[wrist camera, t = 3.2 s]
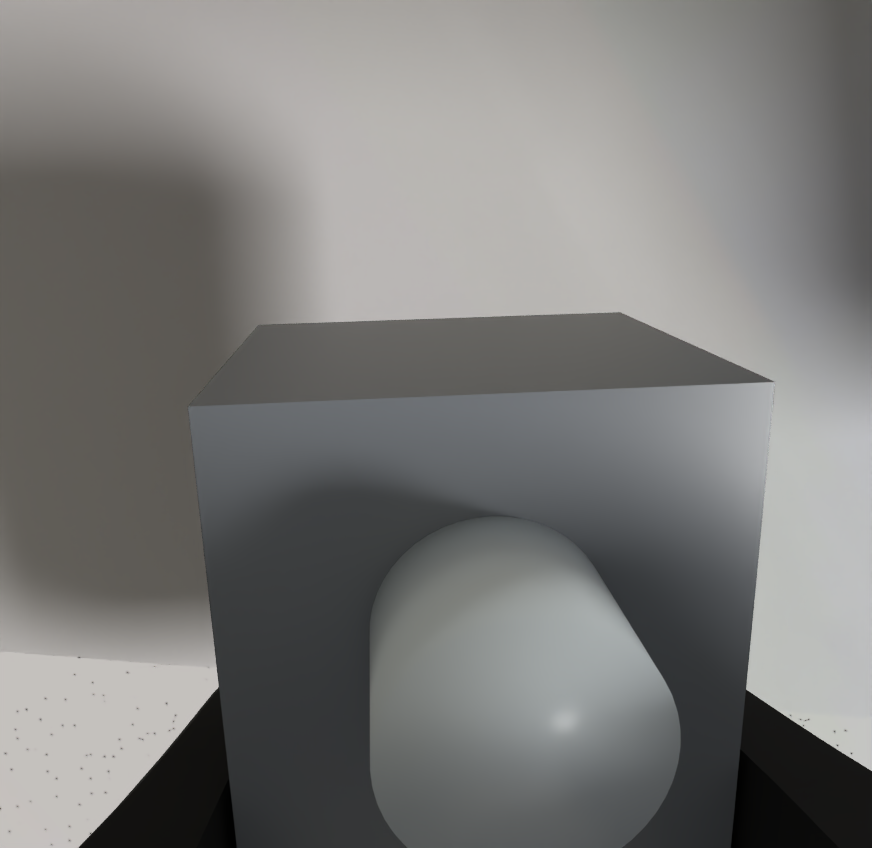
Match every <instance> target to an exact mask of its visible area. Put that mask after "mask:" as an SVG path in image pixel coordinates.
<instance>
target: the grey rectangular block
mask: <svg viewBox="0 0 872 848" xmlns="http://www.w3.org/2000/svg"><path fill="white" fill-rule="evenodd" d="M774 388H775V382H774V381H772V380H769V379H767V378H765V377H763V376H761V375H758V374H756V373H754V372H752V371H749V370H747V369H745V368H743V367H741V366H738V365H736V364H734V363H732V362H729V361H727V360H725V359H723V358H720V357H718V356H716V355H714V354H712V353H709V352H707V351H705V350H703V349H700V348H698V347H696V346H694V345H692V344H689V343H687V342H685V341H683V340H680V339H678V338H676V337H674V336H671V335H669V334H667V333H665V332H663V331H660V330H658V329H656V328H654V327H651V326H649V325H647V324H645V323H642V322H640V321H638V320H636V319H634V318H631V317H629V316H627V315H625V314H622V313H620V312H617V313H588V314H560V315H531V316H502V317H473V318H445V319H416V320H387V321H358V322H330V323H301V324H272V325H258V326H257V328H256V329H255V330H254V331H253V332H252V333H251V334H250V336H249V337H248V338H247V339H246V340H245V341H244V343H243V344H242V345H241V346H240V347H239V348H238V349H237V351H236V352H235V353H234V354H233V355H232V356H231V358H230V359H229V360H228V361H227V362H226V363H225V364H224V366H223V367H222V368H221V369H220V370H219V371H218V372H217V374H216V375H215V376H214V377H213V378H212V379H211V381H210V382H209V383H208V384H207V385H206V386H205V387H204V389H203V390H202V391H201V392H200V393H199V394H198V396H197V397H196V398H195V399H194V400H193V401H192V402H191V404H190V405H189V406H188V412H189V421H190V430H191V439H192V448H193V457H194V466H195V475H196V484H197V493H198V502H199V511H200V520H201V529H202V538H203V547H204V556H205V565H206V574H207V583H208V592H209V601H210V610H211V619H212V628H213V637H214V646H215V655H216V664H217V673H218V682H219V691H220V700H221V709H222V718H223V727H224V736H225V745H226V754H227V763H228V772H229V781H230V790H231V799H232V808H233V817H234V826H235V835H236V844H237V848H731V840H732V830H733V819H734V809H735V798H736V788H737V777H738V767H739V756H740V746H741V735H742V725H743V714H744V704H745V693H746V683H747V672H748V662H749V651H750V641H751V630H752V620H753V609H754V599H755V588H756V578H757V567H758V557H759V546H760V536H761V525H762V515H763V504H764V494H765V483H766V473H767V462H768V451H769V441H770V430H771V420H772V409H773V399H774Z"/></svg>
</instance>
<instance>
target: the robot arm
mask: <svg viewBox="0 0 872 848" xmlns="http://www.w3.org/2000/svg"><path fill="white" fill-rule="evenodd" d="M79 848H237V844H236V835H235V826H234V817H233V808H232V799H231V790H230V781H229V772H228V763H227V754H226V745H225V736H224V727H223V718H222V709H221V700H220V691H219V688H218V689H217V690H216V691H215V692H214V693H213V694H212V695H211V697H210V698H209V699H208V700H207V701H206V703H205V704H204V705H203V706H202V708H201V709H200V710H199V711H198V713H197V714H196V715H195V716H194V718H193V719H192V720H191V721H190V723H189V724H188V725H187V726H186V727H185V729H184V730H183V731H182V732H181V734H180V735H179V736H178V737H177V738H176V740H175V741H174V742H173V743H172V744H171V746H170V747H169V748H168V749H167V751H166V752H165V753H164V754H163V755H162V757H161V758H160V759H159V760H158V761H157V762H156V763H155V765H154V766H153V767H152V768H151V769H150V770H149V772H148V773H147V774H146V775H145V776H144V777H143V778H142V780H141V781H140V782H139V783H138V784H137V785H136V786H135V788H134V789H133V790H132V791H131V792H130V793H129V794H128V796H127V797H126V798H125V799H124V800H123V801H122V802H121V803H120V805H119V806H118V807H117V808H116V809H115V810H114V811H113V812H112V813H111V814H110V815H109V816H108V818H107V819H106V820H105V821H104V822H103V823H102V824H101V825H100V826H99V827H98V828H97V829H96V830H95V831H94V832H93V833H92V834H91V835H90V836H89V837H88V838H87V839H86V840H85V841H84V842H83V843H82V845H81V846H80V847H79ZM731 848H872V771H871V770H869V769H867V768H866V767H864V766H862V765H861V764H859V763H858V762H856V761H854V760H853V759H851V758H850V757H848V756H846V755H845V754H843V753H842V752H840V751H838V750H837V749H835V748H834V747H832V746H830V745H829V744H827V743H826V742H824V741H823V740H821V739H819V738H818V737H816V736H815V735H813V734H812V733H810V732H809V731H807V730H806V729H804V728H803V727H801V726H800V725H798V724H796V723H795V722H793V721H792V720H790V719H789V718H787V717H786V716H784V715H783V714H781V713H780V712H778V711H777V710H775V709H774V708H772V707H771V706H770V705H768V704H767V703H765V702H764V701H762V700H761V699H759V698H758V697H756V696H755V695H753V694H752V693H750V692H749V691H747V690H746V693H745V704H744V714H743V725H742V735H741V746H740V756H739V767H738V777H737V788H736V798H735V809H734V819H733V830H732V840H731Z"/></svg>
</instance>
